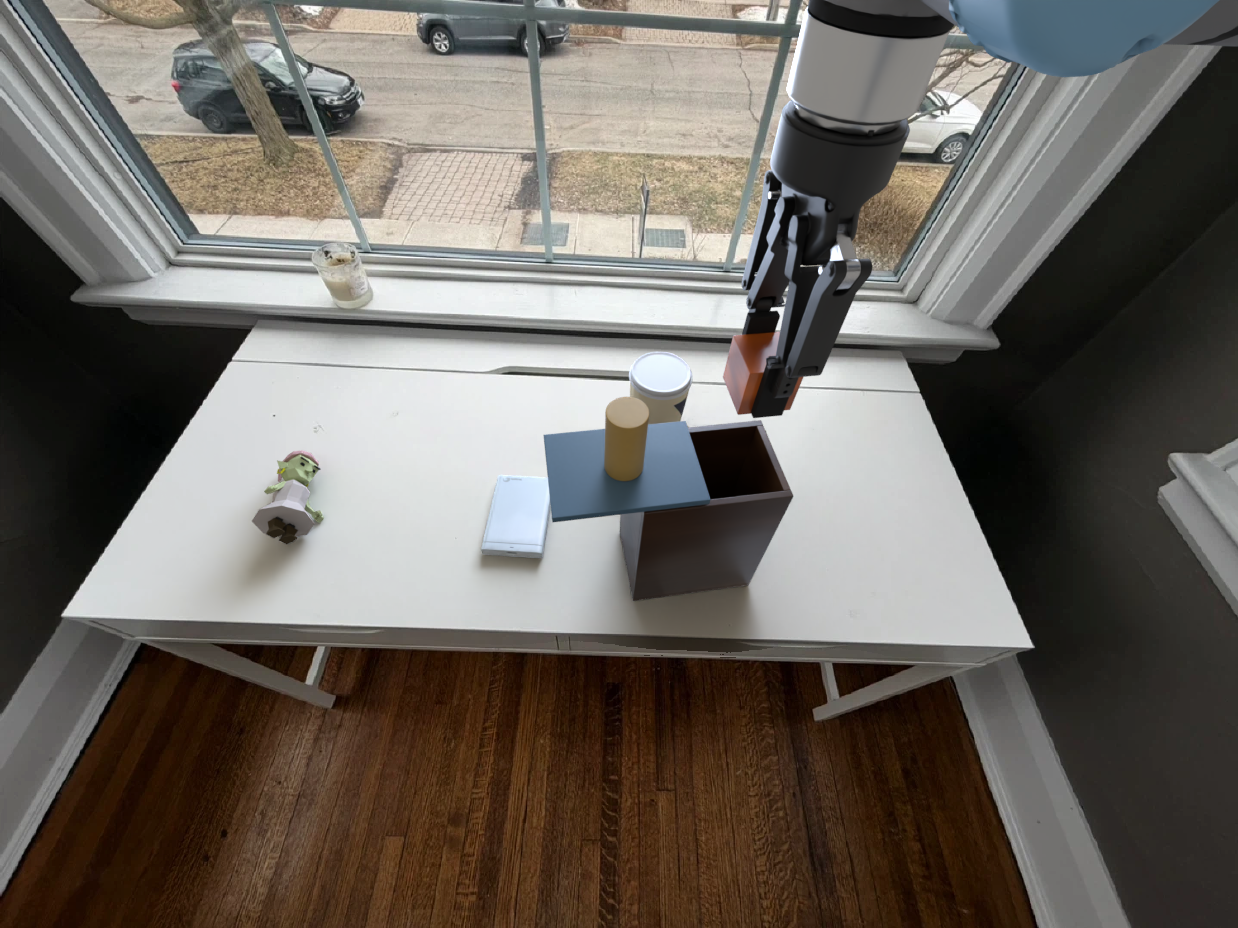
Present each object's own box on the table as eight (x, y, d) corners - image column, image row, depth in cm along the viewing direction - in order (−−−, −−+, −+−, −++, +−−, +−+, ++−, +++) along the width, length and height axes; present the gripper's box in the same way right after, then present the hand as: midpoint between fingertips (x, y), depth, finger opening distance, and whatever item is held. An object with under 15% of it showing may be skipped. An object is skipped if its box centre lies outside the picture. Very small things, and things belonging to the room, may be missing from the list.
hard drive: (497, 474, 80) (480, 548, 72) (553, 477, 80) (541, 552, 72) (499, 480, 81) (482, 554, 74) (554, 484, 81) (542, 558, 74)
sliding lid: (709, 504, 54) (726, 447, 47) (552, 522, 52) (545, 466, 45) (684, 425, 61) (696, 365, 54) (543, 439, 59) (537, 379, 52)
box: (748, 585, 72) (793, 496, 56) (632, 601, 70) (644, 513, 54) (726, 518, 79) (761, 419, 62) (619, 531, 77) (626, 433, 60)
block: (790, 410, 50) (807, 368, 46) (737, 415, 49) (750, 373, 45) (772, 372, 53) (786, 330, 49) (722, 377, 52) (732, 334, 48)
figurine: (271, 510, 66) (295, 424, 76) (226, 534, 68) (255, 447, 77) (329, 541, 72) (344, 458, 82) (286, 562, 74) (307, 478, 84)
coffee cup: (683, 450, 86) (694, 395, 77) (624, 446, 86) (628, 392, 77) (682, 407, 92) (692, 351, 82) (626, 404, 92) (630, 348, 82)
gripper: (992, 176, 27) (832, 463, 46) (845, 56, 38) (764, 327, 57) (852, 182, 26) (746, 472, 45) (742, 57, 37) (693, 332, 56)
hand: (756, 391), depth 51 cm, fingers closed on block, 5 cm apart
